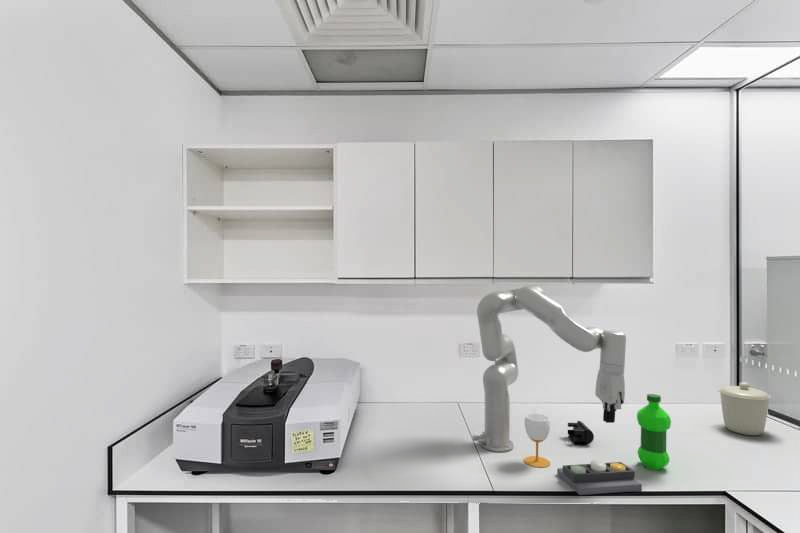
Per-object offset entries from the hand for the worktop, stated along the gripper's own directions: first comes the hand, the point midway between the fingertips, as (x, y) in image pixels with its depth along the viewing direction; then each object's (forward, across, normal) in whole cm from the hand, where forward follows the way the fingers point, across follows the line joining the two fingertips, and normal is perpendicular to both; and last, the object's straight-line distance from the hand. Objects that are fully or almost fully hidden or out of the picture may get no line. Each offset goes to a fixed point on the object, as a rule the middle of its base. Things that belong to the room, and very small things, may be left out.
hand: (608, 421), depth 155 cm
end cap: (+19, -28, +6) cm, 34 cm away
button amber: (+15, +5, +1) cm, 16 cm away
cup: (+19, -11, -19) cm, 29 cm away
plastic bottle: (+18, -3, +20) cm, 27 cm away
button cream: (+14, +5, -6) cm, 17 cm away
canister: (+16, -30, +82) cm, 89 cm away
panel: (+18, +5, -6) cm, 20 cm away
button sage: (+16, +5, -13) cm, 21 cm away
